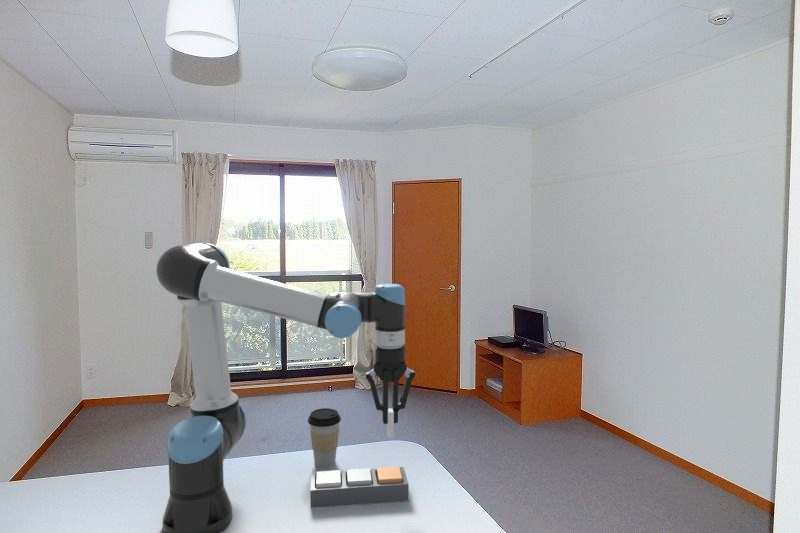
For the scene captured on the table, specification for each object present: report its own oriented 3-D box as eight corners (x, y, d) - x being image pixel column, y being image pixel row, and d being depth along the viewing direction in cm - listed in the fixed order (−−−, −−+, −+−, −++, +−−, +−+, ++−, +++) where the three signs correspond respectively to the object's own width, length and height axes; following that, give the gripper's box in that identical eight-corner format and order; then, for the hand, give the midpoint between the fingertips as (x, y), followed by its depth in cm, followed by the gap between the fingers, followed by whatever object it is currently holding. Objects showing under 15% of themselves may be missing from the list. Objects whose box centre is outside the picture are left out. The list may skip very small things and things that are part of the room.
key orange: (378, 487, 127) (378, 479, 127) (376, 475, 133) (376, 467, 133) (402, 485, 128) (402, 478, 128) (399, 473, 134) (399, 466, 134)
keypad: (310, 507, 124) (310, 490, 123) (311, 488, 132) (311, 472, 132) (408, 500, 127) (408, 484, 127) (403, 482, 136) (403, 466, 135)
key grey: (347, 489, 126) (347, 481, 126) (347, 476, 132) (347, 469, 132) (371, 487, 127) (371, 480, 127) (369, 475, 133) (369, 468, 132)
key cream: (316, 491, 125) (316, 483, 125) (317, 478, 131) (316, 471, 131) (340, 489, 126) (340, 482, 125) (340, 477, 132) (340, 470, 131)
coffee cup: (338, 471, 141) (338, 420, 140) (305, 470, 142) (304, 419, 140) (343, 455, 151) (342, 407, 149) (311, 455, 151) (311, 406, 149)
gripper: (365, 350, 122) (365, 443, 125) (418, 348, 124) (417, 439, 126) (363, 342, 130) (363, 430, 132) (413, 340, 131) (412, 427, 134)
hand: (390, 434), depth 129 cm, fingers closed
